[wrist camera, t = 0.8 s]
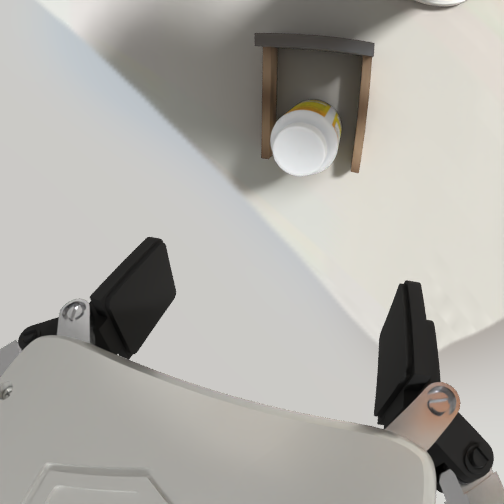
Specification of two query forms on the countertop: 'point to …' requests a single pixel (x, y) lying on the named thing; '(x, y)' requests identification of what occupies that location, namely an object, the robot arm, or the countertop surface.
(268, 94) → the guide track
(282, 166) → the supplement bottle
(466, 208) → the countertop surface
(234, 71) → the countertop surface
